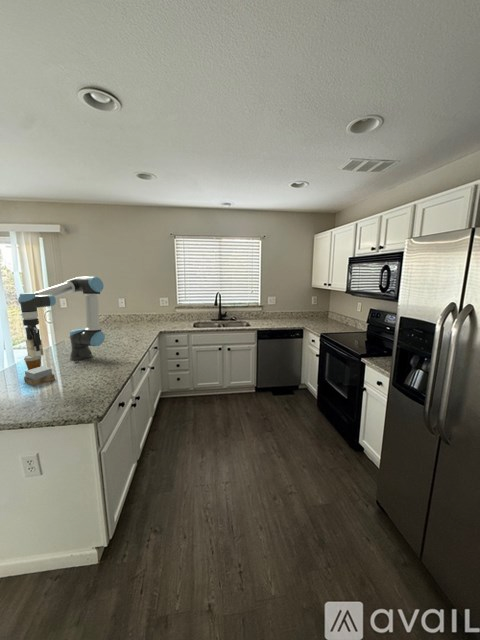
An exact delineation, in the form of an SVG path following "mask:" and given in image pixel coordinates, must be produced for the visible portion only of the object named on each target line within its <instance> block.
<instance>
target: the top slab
mask: <svg viewBox="0 0 480 640" xmlns="http://www.w3.org/2000/svg"><path fill="white" fill-rule="evenodd" d="M52 374H53V369H52V368H51V367H48V366H44V365H41V367H37V368H34V369H30V370H28V369H27V370H24V375H25V376H26V378H30V379H33V380H36V379H40V378H43V377H46V376H49V375H52ZM25 376H24V377H25Z"/></svg>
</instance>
